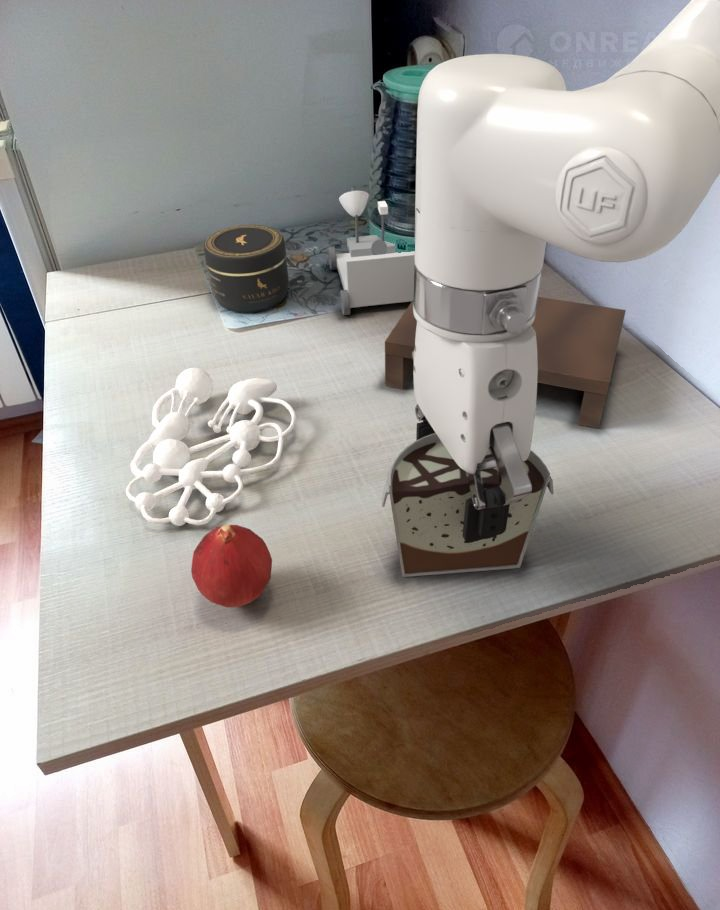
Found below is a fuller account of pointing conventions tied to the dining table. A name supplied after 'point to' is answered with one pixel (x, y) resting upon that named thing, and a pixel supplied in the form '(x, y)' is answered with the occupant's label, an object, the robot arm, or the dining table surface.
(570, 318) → the shelf
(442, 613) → the dining table surface
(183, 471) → the tangled rod sculpture
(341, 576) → the dining table surface
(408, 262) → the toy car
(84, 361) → the dining table surface
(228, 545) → the onion
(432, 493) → the food container
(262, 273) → the jar
